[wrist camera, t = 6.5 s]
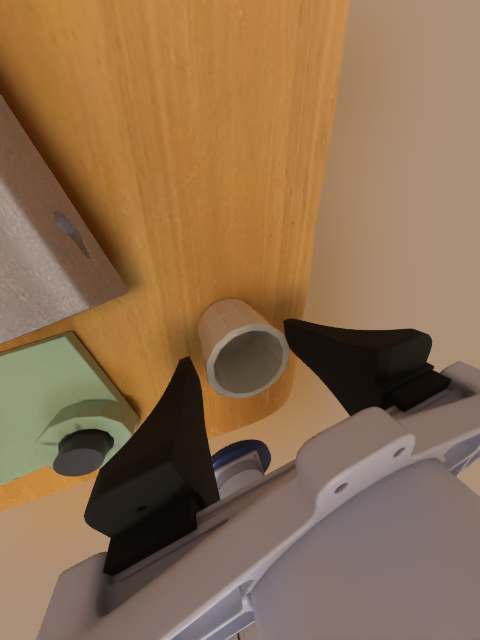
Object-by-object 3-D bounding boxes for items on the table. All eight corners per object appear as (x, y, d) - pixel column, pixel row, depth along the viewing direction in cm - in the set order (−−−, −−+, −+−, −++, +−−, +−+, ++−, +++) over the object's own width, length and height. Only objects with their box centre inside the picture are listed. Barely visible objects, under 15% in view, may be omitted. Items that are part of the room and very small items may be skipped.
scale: (148, 422, 17) (144, 448, 15) (-15, 491, 15) (-49, 535, 12) (77, 328, 12) (55, 346, 10) (-187, 409, 10) (-294, 457, 7)
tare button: (118, 442, 14) (112, 463, 13) (80, 458, 14) (70, 482, 12) (98, 421, 13) (88, 442, 12) (56, 439, 12) (41, 462, 11)
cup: (261, 341, 18) (293, 378, 13) (208, 362, 16) (220, 410, 12) (251, 290, 15) (285, 311, 10) (187, 310, 14) (192, 345, 9)
